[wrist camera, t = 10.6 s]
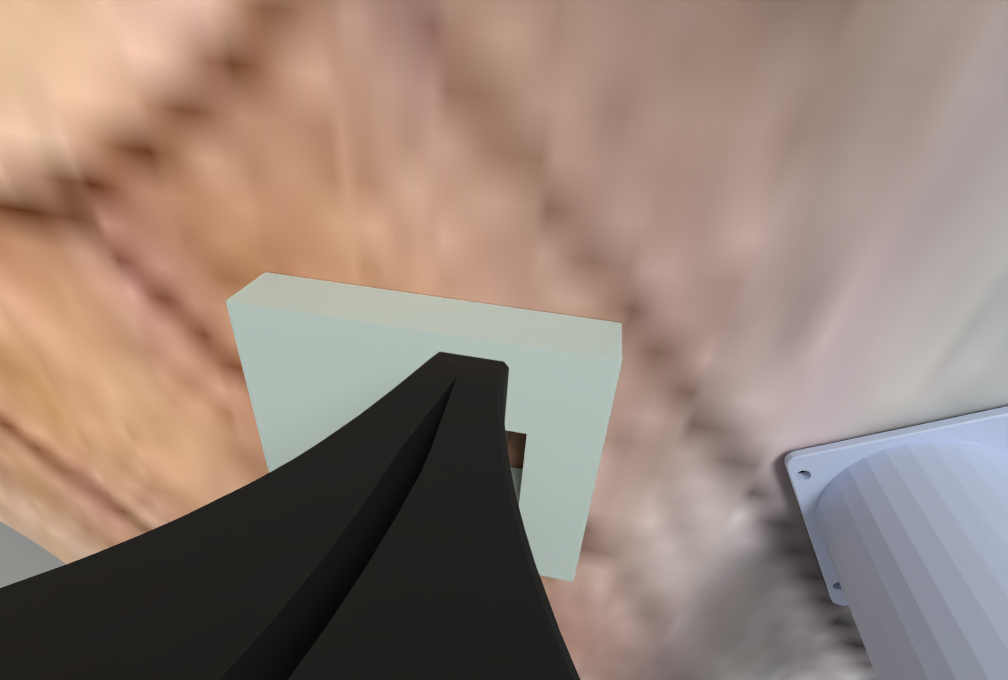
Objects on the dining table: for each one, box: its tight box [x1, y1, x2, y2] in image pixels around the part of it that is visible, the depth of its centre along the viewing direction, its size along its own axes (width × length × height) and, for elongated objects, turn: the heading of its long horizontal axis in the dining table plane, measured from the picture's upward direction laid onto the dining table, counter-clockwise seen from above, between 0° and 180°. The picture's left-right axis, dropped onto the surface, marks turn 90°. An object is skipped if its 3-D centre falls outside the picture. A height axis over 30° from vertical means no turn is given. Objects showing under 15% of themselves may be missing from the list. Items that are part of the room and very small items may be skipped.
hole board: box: [226, 272, 622, 582], centre depth 22 cm, size 14×12×2 cm
